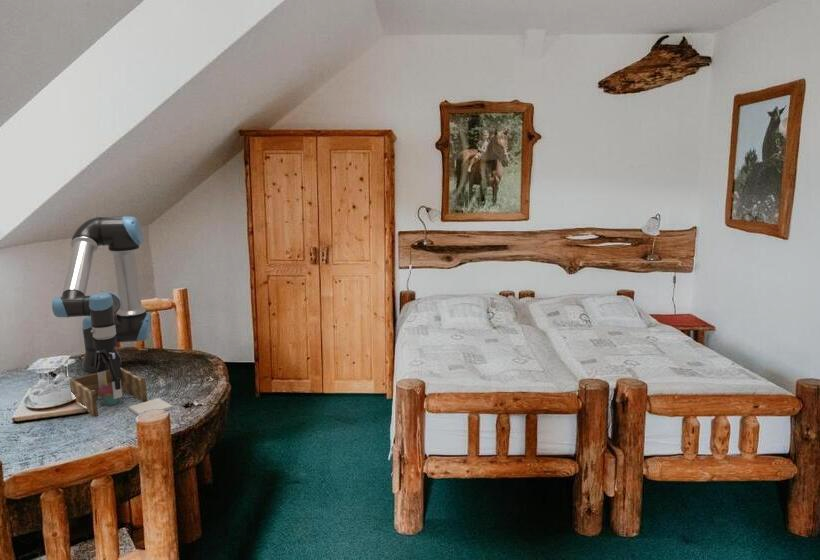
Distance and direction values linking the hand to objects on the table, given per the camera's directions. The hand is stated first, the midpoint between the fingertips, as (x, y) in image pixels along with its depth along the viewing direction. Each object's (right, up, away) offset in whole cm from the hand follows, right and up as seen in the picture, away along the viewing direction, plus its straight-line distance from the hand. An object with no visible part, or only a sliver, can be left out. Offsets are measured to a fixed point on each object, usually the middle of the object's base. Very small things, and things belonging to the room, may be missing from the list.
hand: (110, 393), depth 222 cm
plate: (+17, -5, -6) cm, 19 cm away
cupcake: (0, -4, +1) cm, 4 cm away
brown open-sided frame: (-1, -3, +2) cm, 4 cm away
